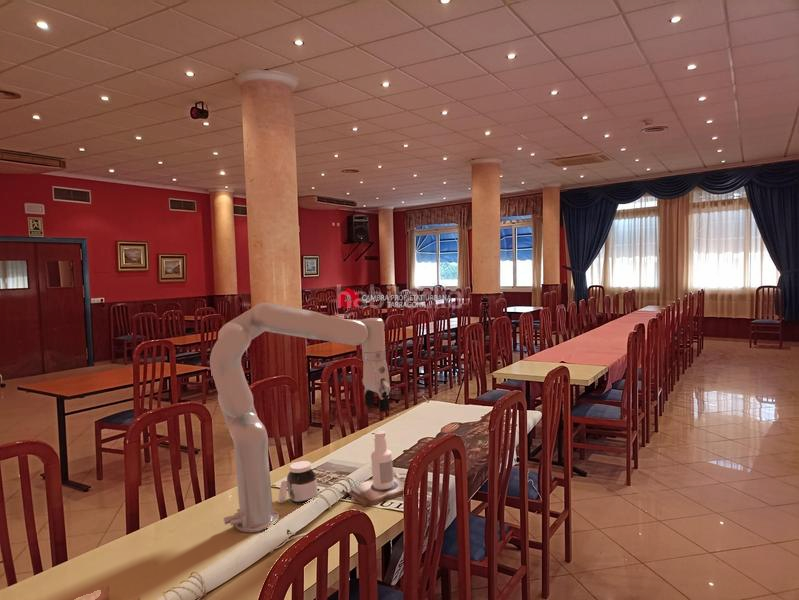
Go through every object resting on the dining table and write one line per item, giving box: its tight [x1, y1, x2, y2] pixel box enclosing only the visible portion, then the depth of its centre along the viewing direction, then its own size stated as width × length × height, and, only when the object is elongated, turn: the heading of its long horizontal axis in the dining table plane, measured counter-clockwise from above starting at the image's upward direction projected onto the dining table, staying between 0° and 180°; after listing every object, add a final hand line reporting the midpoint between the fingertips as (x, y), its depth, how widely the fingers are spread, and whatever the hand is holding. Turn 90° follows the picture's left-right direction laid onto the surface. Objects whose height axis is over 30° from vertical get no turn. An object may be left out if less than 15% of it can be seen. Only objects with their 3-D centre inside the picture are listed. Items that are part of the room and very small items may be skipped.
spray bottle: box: [370, 430, 394, 490], centre depth 179 cm, size 7×7×18 cm
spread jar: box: [277, 460, 318, 505], centre depth 176 cm, size 12×11×12 cm
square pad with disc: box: [348, 475, 404, 508], centre depth 179 cm, size 18×16×2 cm
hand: (377, 408), depth 177 cm, fingers open, 9 cm apart
